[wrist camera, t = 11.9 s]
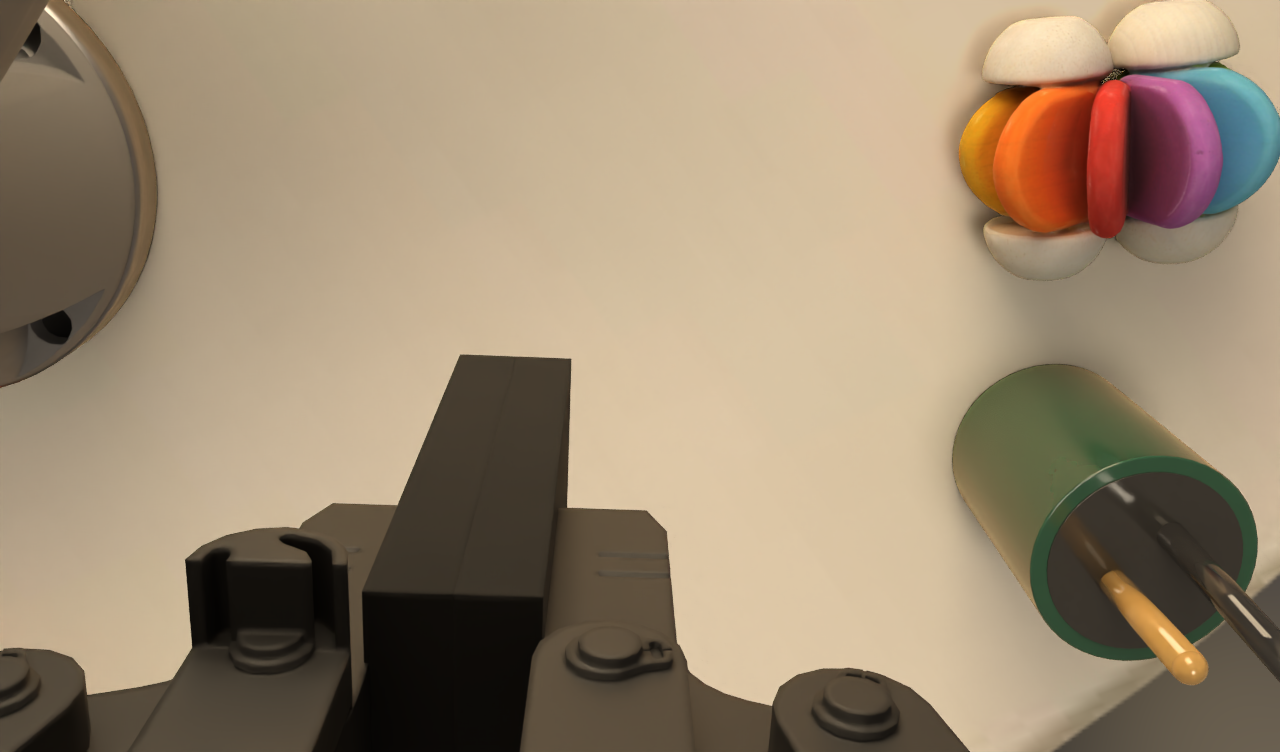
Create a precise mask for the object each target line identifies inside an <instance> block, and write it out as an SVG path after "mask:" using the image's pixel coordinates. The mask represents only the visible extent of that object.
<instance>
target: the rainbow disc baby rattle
mask: <svg viewBox="0 0 1280 752" xmlns="http://www.w3.org/2000/svg"><path fill="white" fill-rule="evenodd" d="M1239 48H1240V43H1239V38H1238V35H1237V32H1236V30H1235V28H1234V25H1233V23H1232V22H1231V20H1230V19H1229V18H1228V16H1227V15H1226V14H1225V13H1224V12H1223V11H1222V10H1221V9H1219V8H1218V7H1217V6H1216V5H1214V4H1213V3H1211V2H1209V1H1207V0H1165V1H1156V2H1150V3H1146V4H1143V5H1140V6H1138V7H1137V8H1135V9H1134V10H1132V11H1131V12H1130V13H1128V14H1127V15H1126V16H1125V17H1124V18H1123V19H1122V20H1121V21H1120V23H1119V24H1118V25H1117V27H1116V28H1115V29H1114V31H1113V33H1112V35H1111V37H1110V39H1109V41H1108V43H1106V42H1105V40H1104V38H1103V37H1102V35H1101V34H1100V33H1099V32H1098V31H1097V30H1096V28H1095V27H1093V26H1092V25H1091V24H1090V23H1088V22H1087V21H1085V20H1084V19H1081V18H1079V17H1074V16H1057V17H1044V18H1034V19H1026V20H1022V21H1018V22H1016V23H1013V24H1012V25H1010V26H1009V27H1008V28H1007V29H1006V30H1004V31H1003V32H1002V33H1001V34H1000V35H999V37H998V38H997V39H996V40H995V42H994V43H993V44H992V46H991V48H990V50H989V51H988V54H987V56H986V58H985V61H984V65H983V69H982V79H983V80H984V81H986V82H989V83H994V84H1008V85H1017V86H1014V87H1012V88H1008V89H1005V90H1003V91H1000V92H998V93H996V95H995V96H994V97H993V98H991V99H990V100H988V101H987V102H986V103H985V104H984V105H983V106H981V107H980V108H979V109H978V110H977V111H976V113H975V114H974V115H973V116H972V118H971V119H970V121H969V122H968V124H967V126H966V128H965V130H964V132H963V135H962V138H961V141H960V145H959V161H960V167H961V171H962V174H963V176H964V179H965V181H966V183H967V184H968V186H969V188H970V189H971V191H972V192H973V193H974V194H975V195H976V196H977V197H978V198H979V199H980V200H981V201H982V202H983V203H984V204H985V205H986V206H988V207H989V208H991V209H993V210H995V211H996V212H998V213H999V214H1001V215H1003V216H999V217H996V218H993V219H991V220H990V221H988V222H987V223H986V224H985V226H984V230H983V232H984V237H985V241H986V244H987V246H988V249H989V251H990V253H991V254H992V256H993V257H994V259H995V260H996V261H997V262H998V263H999V264H1000V265H1001V266H1002V267H1003V268H1004V269H1006V270H1007V271H1008V272H1010V273H1011V274H1013V275H1015V276H1017V277H1020V278H1023V279H1027V280H1038V281H1052V280H1060V279H1064V278H1068V277H1071V276H1073V275H1075V274H1077V273H1079V272H1080V271H1082V270H1083V269H1084V268H1086V267H1087V266H1088V265H1089V264H1091V262H1092V261H1093V260H1094V259H1095V258H1096V257H1097V256H1098V254H1099V253H1100V251H1101V249H1102V248H1103V246H1104V243H1105V241H1106V238H1112V237H1114V236H1115V237H1116V239H1117V241H1118V242H1119V243H1120V244H1121V245H1122V246H1123V248H1125V249H1126V250H1127V251H1128V252H1129V253H1131V254H1132V255H1134V256H1136V257H1138V258H1139V259H1141V260H1144V261H1147V262H1152V263H1159V264H1179V263H1186V262H1190V261H1194V260H1197V259H1199V258H1201V257H1203V256H1205V255H1207V254H1208V253H1210V252H1211V251H1213V250H1214V249H1215V248H1217V247H1218V246H1219V245H1220V244H1221V243H1222V242H1223V240H1224V239H1225V238H1226V237H1227V235H1228V234H1229V232H1230V231H1231V229H1232V227H1233V225H1234V223H1235V220H1236V217H1237V213H1238V204H1240V203H1241V202H1243V201H1245V200H1246V199H1248V198H1249V197H1250V196H1252V195H1253V194H1254V193H1255V192H1256V191H1258V190H1259V188H1260V187H1261V186H1262V185H1263V184H1264V183H1265V182H1266V180H1267V179H1268V178H1269V176H1270V175H1271V173H1272V172H1273V170H1274V168H1275V166H1276V164H1277V162H1278V159H1279V157H1280V117H1279V115H1278V113H1277V111H1276V109H1275V107H1274V105H1273V103H1272V102H1271V100H1270V99H1269V98H1268V96H1267V95H1266V94H1265V93H1264V91H1263V90H1262V89H1261V88H1260V87H1259V86H1257V85H1256V84H1255V83H1254V82H1252V81H1251V80H1250V79H1248V78H1246V77H1245V76H1243V75H1241V74H1239V73H1237V72H1235V71H1233V70H1230V69H1229V68H1227V67H1226V66H1224V65H1222V64H1220V63H1219V62H1215V61H1218V60H1222V59H1226V58H1229V57H1231V56H1234V55H1236V54H1237V53H1238V52H1239ZM1122 68H1124V69H1126V70H1125V71H1124V72H1123V73H1122V74H1120V75H1119V76H1118V77H1117V80H1108V81H1106V82H1104V83H1103V84H1100V83H1101V82H1102V81H1103V80H1104V79H1105V78H1106V77H1107V76H1108V75H1109V74H1110V73H1111V72H1112V71H1113V69H1122Z"/></svg>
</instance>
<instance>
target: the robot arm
mask: <svg viewBox="0 0 1280 752" xmlns="http://www.w3.org/2000/svg"><path fill="white" fill-rule="evenodd" d="M156 204H157V188H156V173H155V165H154V157H153V152H152V148H151V144H150V139H149V135H148V132H147V129H146V125H145V122H144V119H143V116H142V113H141V111H140V108H139V106H138V104H137V101H136V99H135V97H134V94H133V92H132V90H131V88H130V86H129V84H128V83H127V81H126V79H125V77H124V75H123V73H122V71H121V70H120V68H119V66H118V65H117V63H116V62H115V60H114V59H113V57H112V56H111V54H110V53H109V51H108V50H107V48H106V47H105V46H104V45H103V43H102V42H101V41H100V40H99V38H98V37H97V36H96V34H95V33H94V32H93V31H92V29H91V28H90V27H89V26H88V25H87V24H86V23H85V22H84V21H83V20H82V19H81V18H80V17H79V16H78V14H77V13H76V12H75V11H74V10H73V9H71V8H70V7H69V6H68V5H67V4H66V3H65V2H64V1H63V0H0V388H2V387H5V386H8V385H11V384H14V383H18V382H20V381H22V380H25V379H27V378H29V377H32V376H34V375H36V374H38V373H40V372H42V371H43V370H45V369H47V368H49V367H51V366H52V365H54V364H56V363H57V362H58V361H60V360H61V359H63V358H64V357H66V356H67V355H69V354H70V353H72V352H73V351H74V350H76V349H77V348H79V347H80V346H82V345H83V344H84V343H86V342H87V341H89V340H90V339H91V338H92V337H93V336H95V335H96V334H97V333H98V332H99V331H100V330H101V329H102V328H103V327H105V326H106V325H107V323H108V322H109V321H110V320H111V319H112V318H113V317H114V316H115V314H116V313H117V312H118V311H119V309H120V308H121V307H122V305H123V304H124V302H125V301H126V300H127V298H128V297H129V295H130V293H131V292H132V290H133V288H134V286H135V284H136V282H137V281H138V279H139V276H140V274H141V272H142V269H143V267H144V264H145V262H146V259H147V256H148V252H149V249H150V245H151V242H152V237H153V231H154V225H155V219H156ZM570 386H571V359H563V358H536V357H510V356H484V355H460V356H459V359H458V361H457V364H456V366H455V368H454V371H453V373H452V376H451V378H450V380H449V383H448V385H447V388H446V390H445V392H444V395H443V397H442V400H441V402H440V404H439V407H438V409H437V412H436V414H435V416H434V419H433V421H432V424H431V426H430V429H429V431H428V433H427V436H426V438H425V441H424V443H423V445H422V448H421V450H420V453H419V455H418V457H417V460H416V462H415V465H414V467H413V469H412V472H411V474H410V477H409V479H408V481H407V484H406V486H405V489H404V491H403V494H402V496H401V498H400V501H399V503H398V506H397V505H367V504H338V503H333V504H331V505H329V506H328V507H326V508H325V509H323V510H322V511H320V512H319V513H317V514H315V515H314V516H312V517H311V518H309V519H308V520H306V521H305V522H303V523H302V525H301V527H300V528H299V529H297V528H289V527H282V528H262V529H253V530H249V531H244V532H239V533H235V534H230V535H226V536H224V537H221V538H219V539H217V540H214V541H212V542H210V543H207V544H205V545H203V546H201V547H200V548H198V549H197V550H196V551H195V552H194V553H193V554H191V555H190V556H189V557H188V558H187V559H185V563H186V575H187V588H188V600H189V612H190V624H191V636H192V649H191V651H190V652H189V654H188V656H187V657H186V659H185V660H184V662H183V664H182V665H181V667H180V668H179V670H178V672H177V673H176V675H175V676H174V678H173V679H172V680H169V681H166V682H162V683H157V684H152V685H147V686H143V687H137V688H131V689H124V690H118V691H111V692H105V693H98V694H92V695H87V691H86V682H85V673H84V670H83V669H82V668H81V667H80V666H79V665H78V663H77V662H76V661H75V660H74V659H73V658H72V657H69V656H66V655H63V654H60V653H57V652H54V651H51V650H40V649H23V648H8V649H3V651H0V752H970V751H969V750H968V749H967V748H966V747H965V745H964V744H963V743H962V742H961V741H960V739H959V738H958V737H957V736H956V735H955V733H954V732H953V731H952V730H951V729H950V727H949V726H948V725H947V724H946V723H945V721H944V720H943V719H942V718H941V717H940V716H939V714H938V713H937V712H936V711H935V710H934V708H933V707H932V706H931V705H930V704H929V703H928V702H927V701H926V700H924V699H923V698H922V697H921V696H920V695H918V694H917V693H916V692H915V691H914V690H912V689H911V688H910V687H908V686H905V685H903V684H901V683H899V682H897V681H894V680H892V679H890V678H888V677H886V676H883V675H881V674H877V673H874V672H870V671H866V672H865V671H863V670H860V669H853V668H844V669H819V670H815V671H811V672H807V673H803V674H799V675H796V676H795V677H793V678H792V679H790V680H789V681H788V682H786V683H785V684H783V685H782V686H780V687H779V690H778V692H777V694H776V697H775V699H774V701H773V705H772V706H769V705H765V704H760V703H756V702H752V701H747V700H744V699H741V698H737V697H734V696H731V695H728V694H724V693H722V692H720V691H718V690H716V689H714V688H712V687H710V686H708V685H706V684H704V683H703V682H702V681H700V680H699V679H698V678H696V677H695V676H694V675H692V674H691V673H690V672H689V670H688V667H687V660H686V658H685V656H684V654H683V652H682V650H681V647H680V645H678V644H677V640H676V629H675V618H674V607H673V596H672V585H671V578H670V563H669V552H668V541H667V531H666V530H665V529H664V528H663V527H662V526H661V525H660V524H659V523H658V522H657V521H656V520H655V519H654V518H653V517H652V516H651V515H650V514H649V513H648V512H647V511H642V510H613V509H584V508H567V488H568V454H569V420H570Z"/></svg>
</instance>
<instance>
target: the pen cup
mask: <svg viewBox="0 0 1280 752" xmlns="http://www.w3.org/2000/svg"><path fill="white" fill-rule="evenodd" d="M952 462H953V473H954V477H955V482H956V485H957V487H958V490H959V492H960V494H961V496H962V498H963V499H964V501H965V503H966V504H967V506H968V507H969V509H970V510H971V512H972V513H973V515H974V516H975V518H976V519H977V521H978V522H979V524H980V525H981V527H982V528H983V530H984V531H985V533H986V534H987V536H988V537H989V539H990V540H991V542H992V543H993V545H994V546H995V548H996V549H997V551H998V552H999V554H1000V555H1001V557H1002V558H1003V560H1004V561H1005V563H1006V564H1007V566H1008V567H1009V569H1010V570H1011V572H1012V573H1013V575H1014V576H1015V578H1016V579H1017V581H1018V582H1019V584H1020V585H1021V587H1022V588H1023V590H1024V591H1025V593H1026V594H1027V596H1028V597H1029V599H1030V600H1031V602H1032V603H1033V605H1034V606H1035V608H1036V609H1037V611H1038V612H1039V614H1040V615H1041V617H1042V618H1043V620H1044V621H1045V622H1046V623H1047V625H1048V626H1049V627H1050V629H1051V630H1052V631H1053V632H1054V633H1056V634H1057V635H1058V636H1059V637H1060V638H1061V639H1062V640H1064V641H1065V642H1067V643H1068V644H1069V645H1071V646H1073V647H1075V648H1077V649H1079V650H1081V651H1082V652H1085V653H1088V654H1091V655H1094V656H1096V657H1101V658H1106V659H1111V660H1122V661H1132V660H1144V659H1152V658H1156V657H1158V658H1159V659H1160V661H1161V662H1162V663H1163V664H1164V665H1165V666H1166V668H1167V669H1168V670H1169V671H1170V672H1171V673H1172V675H1173V676H1174V677H1175V678H1176V679H1177V680H1178V681H1180V682H1181V683H1184V684H1187V685H1196V684H1199V683H1201V682H1202V681H1204V680H1205V678H1206V677H1207V674H1208V670H1209V668H1208V663H1207V661H1206V659H1205V658H1204V657H1203V656H1202V654H1201V653H1200V652H1199V651H1198V650H1197V649H1196V648H1195V647H1194V646H1193V645H1192V644H1193V643H1195V642H1197V641H1198V640H1200V639H1201V638H1203V637H1204V636H1206V635H1207V634H1209V633H1210V632H1211V631H1212V630H1214V629H1215V628H1216V627H1217V626H1219V625H1220V624H1221V623H1222V622H1223V621H1224V620H1226V621H1227V623H1228V624H1229V625H1230V626H1231V627H1232V628H1233V629H1234V631H1235V632H1236V633H1237V634H1238V635H1239V636H1240V637H1241V638H1242V640H1243V641H1244V642H1245V643H1246V644H1247V645H1248V646H1249V648H1250V649H1251V650H1252V651H1253V652H1254V653H1255V654H1256V656H1257V657H1258V658H1259V659H1260V660H1261V661H1262V663H1263V664H1264V665H1265V666H1266V667H1267V668H1268V669H1269V671H1270V672H1271V673H1272V674H1273V675H1274V676H1275V677H1276V679H1277V680H1278V681H1279V682H1280V629H1279V628H1278V627H1277V626H1276V625H1275V624H1274V623H1273V622H1272V621H1271V620H1270V619H1269V618H1268V616H1267V615H1266V614H1265V613H1264V612H1263V611H1262V610H1261V609H1260V608H1259V607H1258V606H1257V605H1256V604H1255V603H1254V601H1253V600H1252V599H1251V598H1250V597H1249V596H1248V595H1247V594H1246V593H1245V591H1246V589H1247V587H1248V585H1249V583H1250V580H1251V578H1252V575H1253V571H1254V568H1255V564H1256V558H1257V548H1258V538H1257V530H1256V524H1255V521H1254V517H1253V514H1252V511H1251V509H1250V507H1249V505H1248V503H1247V501H1246V499H1245V498H1244V496H1243V495H1242V494H1241V492H1240V491H1239V489H1238V488H1237V487H1236V486H1235V485H1234V484H1233V483H1232V482H1231V481H1230V480H1229V479H1228V478H1226V477H1225V476H1224V475H1223V474H1221V473H1220V472H1219V471H1218V470H1217V469H1215V468H1214V467H1213V466H1212V465H1210V464H1209V463H1208V462H1207V461H1206V460H1204V459H1203V458H1202V457H1201V456H1199V455H1198V454H1197V453H1196V452H1195V451H1193V450H1192V449H1191V448H1190V447H1188V446H1187V445H1186V444H1185V443H1184V442H1182V441H1181V440H1180V439H1179V438H1177V437H1176V436H1175V435H1174V434H1173V433H1171V432H1170V431H1169V430H1168V429H1166V428H1165V427H1164V426H1163V425H1162V424H1160V423H1159V422H1158V421H1157V420H1155V419H1154V418H1153V417H1152V416H1150V415H1149V414H1148V413H1147V412H1146V411H1144V410H1143V409H1142V408H1141V407H1139V406H1138V405H1137V404H1136V403H1135V402H1133V401H1132V400H1131V399H1130V398H1128V397H1127V396H1126V395H1125V394H1124V393H1122V392H1121V391H1120V390H1119V389H1117V388H1116V387H1115V386H1114V385H1113V384H1111V383H1110V382H1109V381H1107V380H1106V379H1105V378H1103V377H1101V376H1100V375H1098V374H1096V373H1094V372H1092V371H1089V370H1087V369H1084V368H1080V367H1076V366H1072V365H1063V364H1047V365H1040V366H1034V367H1030V368H1027V369H1023V370H1020V371H1018V372H1015V373H1013V374H1010V375H1009V376H1007V377H1005V378H1003V379H1001V380H999V381H998V382H997V383H995V384H994V385H992V386H991V387H990V388H988V389H987V390H986V391H985V392H984V393H983V394H982V395H981V396H980V397H979V398H978V399H977V400H976V401H975V402H974V404H973V405H972V406H971V407H970V409H969V410H968V412H967V413H966V415H965V416H964V418H963V420H962V422H961V424H960V426H959V429H958V432H957V435H956V438H955V442H954V447H953V458H952Z"/></svg>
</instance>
